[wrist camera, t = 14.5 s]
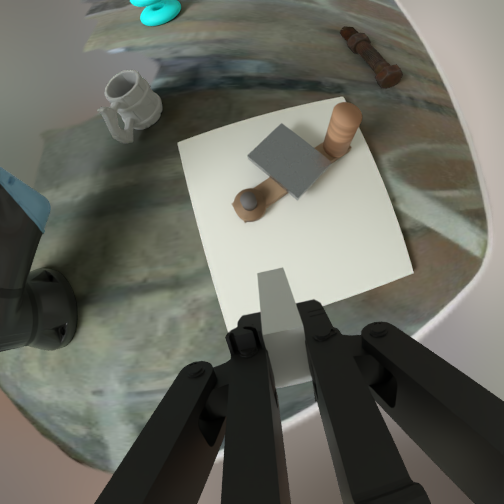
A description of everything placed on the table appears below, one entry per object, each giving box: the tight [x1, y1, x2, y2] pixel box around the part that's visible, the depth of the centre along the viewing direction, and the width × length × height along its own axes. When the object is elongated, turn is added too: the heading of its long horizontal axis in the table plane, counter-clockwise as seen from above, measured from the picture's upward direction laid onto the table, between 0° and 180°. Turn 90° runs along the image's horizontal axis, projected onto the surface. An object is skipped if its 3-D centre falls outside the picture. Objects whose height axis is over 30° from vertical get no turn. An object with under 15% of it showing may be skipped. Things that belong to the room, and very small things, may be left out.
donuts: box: [130, 0, 181, 26], centre depth 45 cm, size 10×10×10 cm
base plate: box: [178, 97, 414, 332], centre depth 42 cm, size 28×30×2 cm
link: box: [232, 102, 362, 223], centre depth 36 cm, size 19×4×10 cm, turn 125°
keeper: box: [247, 123, 332, 201], centre depth 40 cm, size 9×7×5 cm
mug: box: [98, 70, 162, 144], centre depth 40 cm, size 8×12×12 cm, turn 169°
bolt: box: [340, 27, 403, 88], centre depth 42 cm, size 6×5×15 cm
